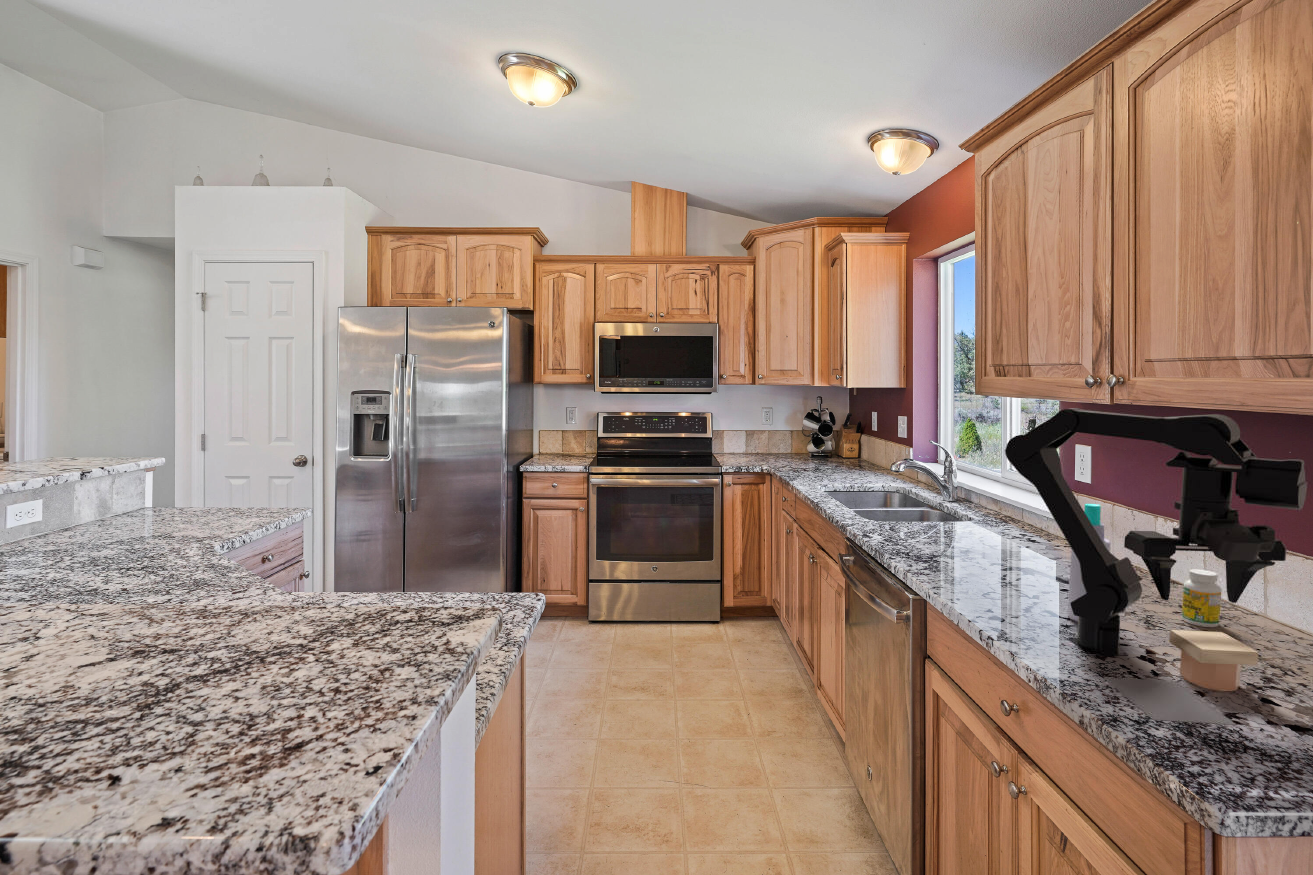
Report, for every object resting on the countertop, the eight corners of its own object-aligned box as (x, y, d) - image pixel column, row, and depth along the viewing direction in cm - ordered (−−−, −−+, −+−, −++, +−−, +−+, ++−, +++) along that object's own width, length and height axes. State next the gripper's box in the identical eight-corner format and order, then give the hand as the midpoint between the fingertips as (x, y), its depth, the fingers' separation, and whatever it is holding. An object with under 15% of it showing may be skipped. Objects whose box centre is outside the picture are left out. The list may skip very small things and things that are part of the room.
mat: (1103, 680, 97) (1103, 677, 97) (1176, 684, 96) (1176, 681, 96) (1152, 723, 86) (1152, 719, 86) (1236, 728, 84) (1236, 724, 84)
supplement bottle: (1227, 627, 117) (1231, 575, 116) (1200, 628, 117) (1204, 577, 116) (1198, 616, 123) (1202, 567, 122) (1173, 617, 122) (1177, 568, 121)
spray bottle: (1062, 619, 122) (1068, 504, 120) (1073, 611, 126) (1079, 500, 124) (1100, 628, 117) (1107, 509, 115) (1109, 619, 121) (1116, 505, 119)
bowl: (1171, 673, 100) (1173, 643, 99) (1217, 675, 99) (1219, 645, 99) (1200, 693, 94) (1202, 661, 93) (1249, 695, 93) (1251, 663, 92)
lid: (1169, 642, 100) (1170, 629, 100) (1220, 644, 99) (1221, 631, 99) (1201, 662, 93) (1202, 649, 93) (1257, 665, 92) (1258, 651, 92)
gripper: (1171, 509, 89) (1164, 618, 91) (1324, 511, 86) (1314, 624, 88) (1125, 494, 100) (1119, 591, 102) (1259, 496, 97) (1251, 596, 99)
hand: (1198, 600), depth 97 cm, fingers open, 9 cm apart
